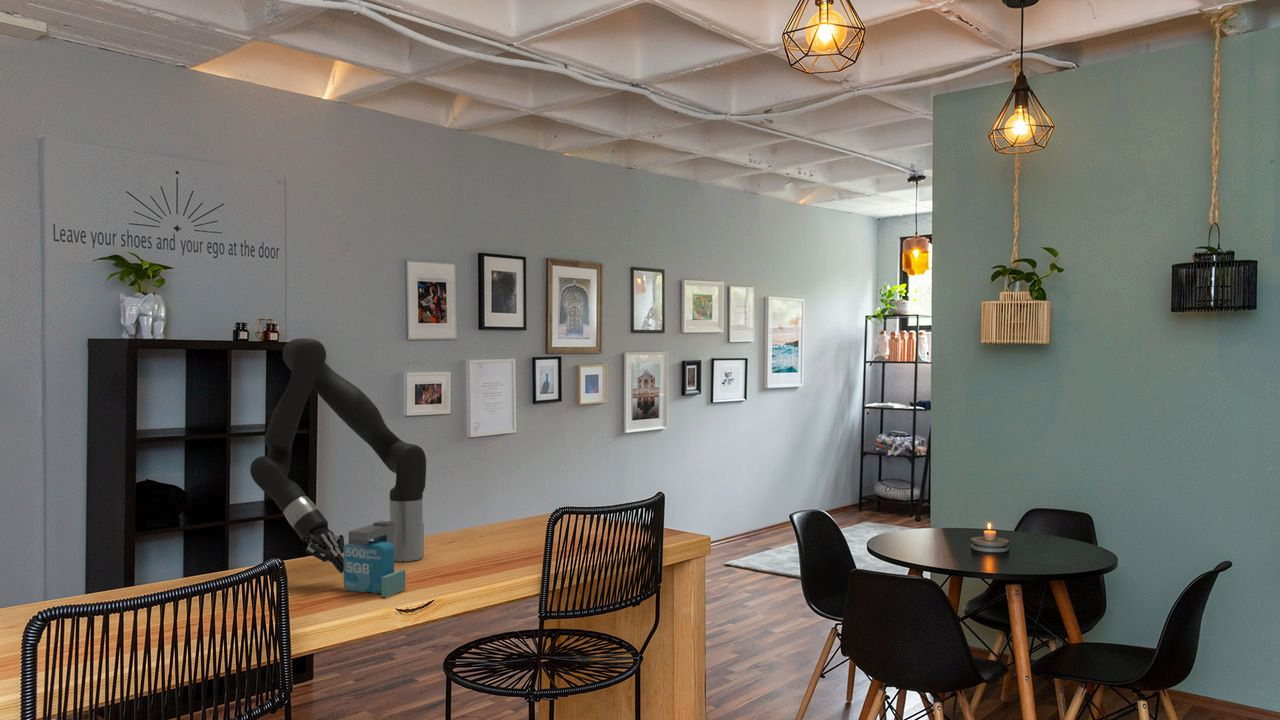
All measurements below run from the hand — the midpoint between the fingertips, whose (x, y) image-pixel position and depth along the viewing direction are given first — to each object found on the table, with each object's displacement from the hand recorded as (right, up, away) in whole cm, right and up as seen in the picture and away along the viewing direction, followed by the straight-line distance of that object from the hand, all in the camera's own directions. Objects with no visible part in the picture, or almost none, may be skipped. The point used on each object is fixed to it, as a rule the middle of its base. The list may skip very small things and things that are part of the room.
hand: (345, 570), depth 236 cm
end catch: (+13, -5, -5) cm, 15 cm away
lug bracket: (+7, -5, +1) cm, 9 cm away
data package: (+6, -5, -2) cm, 8 cm away
